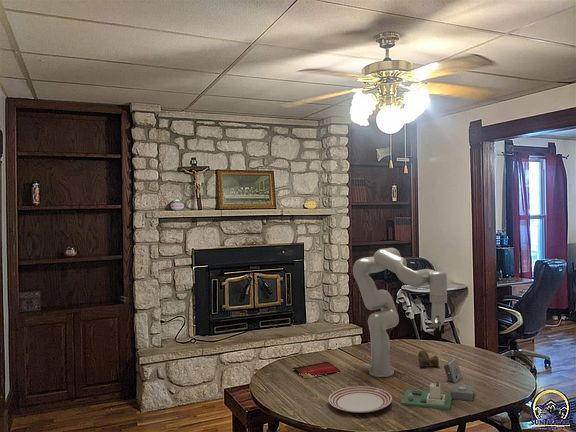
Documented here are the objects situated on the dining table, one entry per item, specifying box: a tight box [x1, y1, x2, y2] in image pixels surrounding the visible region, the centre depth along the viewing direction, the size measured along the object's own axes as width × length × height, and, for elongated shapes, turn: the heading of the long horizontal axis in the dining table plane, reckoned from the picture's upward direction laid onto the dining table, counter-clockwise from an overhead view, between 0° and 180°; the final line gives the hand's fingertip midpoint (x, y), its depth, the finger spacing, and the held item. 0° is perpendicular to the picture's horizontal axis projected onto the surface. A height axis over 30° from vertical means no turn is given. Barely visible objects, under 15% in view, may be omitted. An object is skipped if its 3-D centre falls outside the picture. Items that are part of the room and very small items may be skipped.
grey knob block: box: [450, 384, 474, 402], centre depth 217 cm, size 9×9×4 cm
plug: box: [429, 381, 441, 400], centre depth 210 cm, size 4×4×8 cm
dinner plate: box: [328, 385, 393, 414], centre depth 213 cm, size 27×27×3 cm
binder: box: [292, 361, 341, 376], centre depth 259 cm, size 16×2×21 cm
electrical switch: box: [443, 358, 463, 384], centre depth 238 cm, size 9×5×9 cm, turn 141°
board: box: [400, 388, 453, 411], centre depth 214 cm, size 20×16×3 cm
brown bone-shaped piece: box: [417, 350, 440, 369], centre depth 262 cm, size 6×10×20 cm
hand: (439, 336), depth 223 cm, fingers open, 9 cm apart
